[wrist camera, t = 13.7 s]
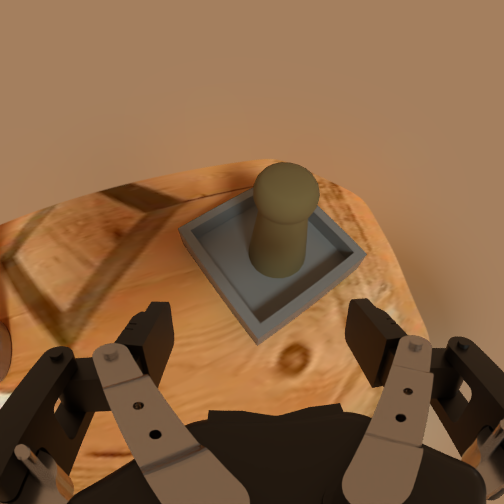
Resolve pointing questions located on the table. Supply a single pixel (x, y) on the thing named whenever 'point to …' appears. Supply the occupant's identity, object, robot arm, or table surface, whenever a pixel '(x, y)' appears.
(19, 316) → the table surface
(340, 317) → the table surface
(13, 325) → the table surface
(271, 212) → the cork
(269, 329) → the tray
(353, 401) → the table surface
